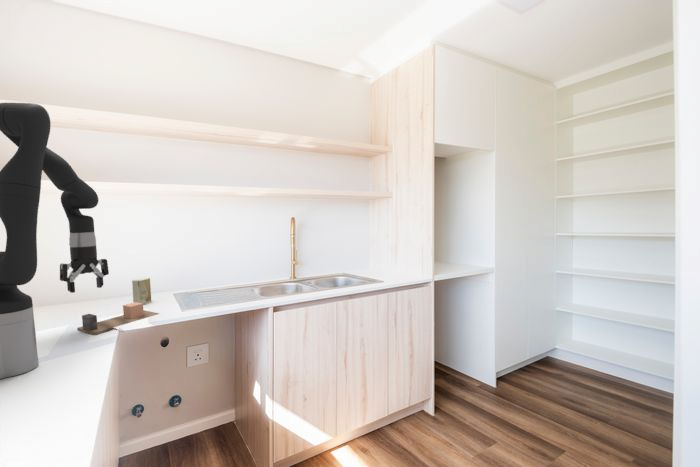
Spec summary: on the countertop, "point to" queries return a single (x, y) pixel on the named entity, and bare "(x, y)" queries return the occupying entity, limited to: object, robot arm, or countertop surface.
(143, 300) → the skincare box
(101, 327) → the walnut strip
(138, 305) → the terracotta block
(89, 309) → the countertop surface
